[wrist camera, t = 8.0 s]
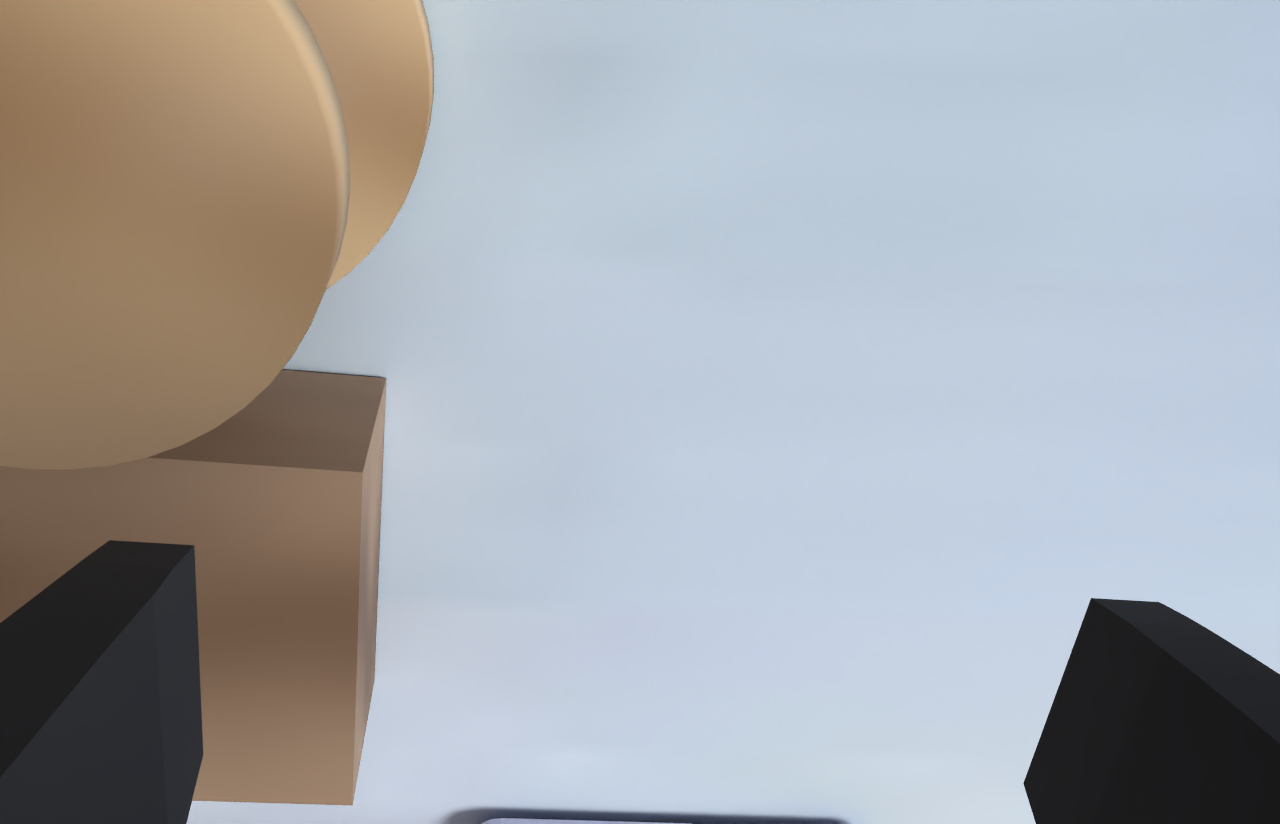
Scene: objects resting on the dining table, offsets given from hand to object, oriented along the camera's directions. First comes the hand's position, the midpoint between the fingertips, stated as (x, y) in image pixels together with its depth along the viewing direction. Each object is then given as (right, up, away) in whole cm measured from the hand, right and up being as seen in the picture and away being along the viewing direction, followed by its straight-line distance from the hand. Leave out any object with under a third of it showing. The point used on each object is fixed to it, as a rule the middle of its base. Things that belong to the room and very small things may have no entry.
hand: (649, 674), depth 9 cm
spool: (-6, +7, +6) cm, 11 cm away
